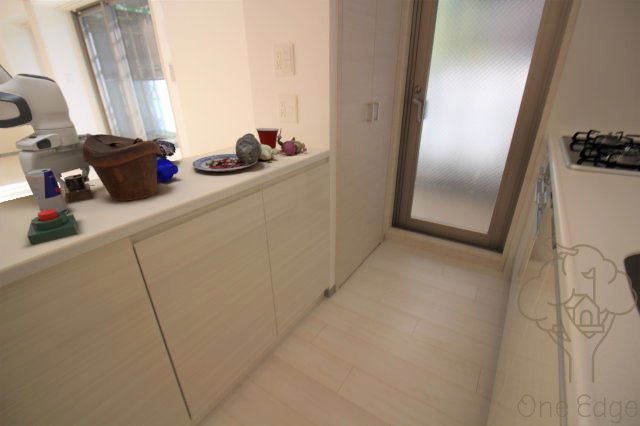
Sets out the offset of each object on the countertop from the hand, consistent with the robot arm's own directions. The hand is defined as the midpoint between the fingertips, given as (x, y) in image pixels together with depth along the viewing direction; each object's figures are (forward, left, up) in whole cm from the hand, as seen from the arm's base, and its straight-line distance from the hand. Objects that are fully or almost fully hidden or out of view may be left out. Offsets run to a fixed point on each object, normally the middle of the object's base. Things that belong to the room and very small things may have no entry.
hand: (75, 184), depth 87 cm
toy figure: (+26, -3, +1) cm, 26 cm away
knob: (0, 0, -1) cm, 1 cm away
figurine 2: (+84, +14, -4) cm, 85 cm away
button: (-5, -25, 0) cm, 25 cm away
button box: (-5, -25, -4) cm, 26 cm away
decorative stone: (+53, +3, +4) cm, 53 cm away
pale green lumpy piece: (+68, -1, 0) cm, 68 cm away
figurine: (+90, +10, +2) cm, 91 cm away
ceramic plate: (+49, +5, -4) cm, 49 cm away
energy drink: (-5, -11, -4) cm, 13 cm away
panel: (0, 0, -4) cm, 4 cm away
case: (+14, -8, -4) cm, 16 cm away
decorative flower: (+24, +18, -1) cm, 30 cm away
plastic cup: (+74, +14, -4) cm, 76 cm away
